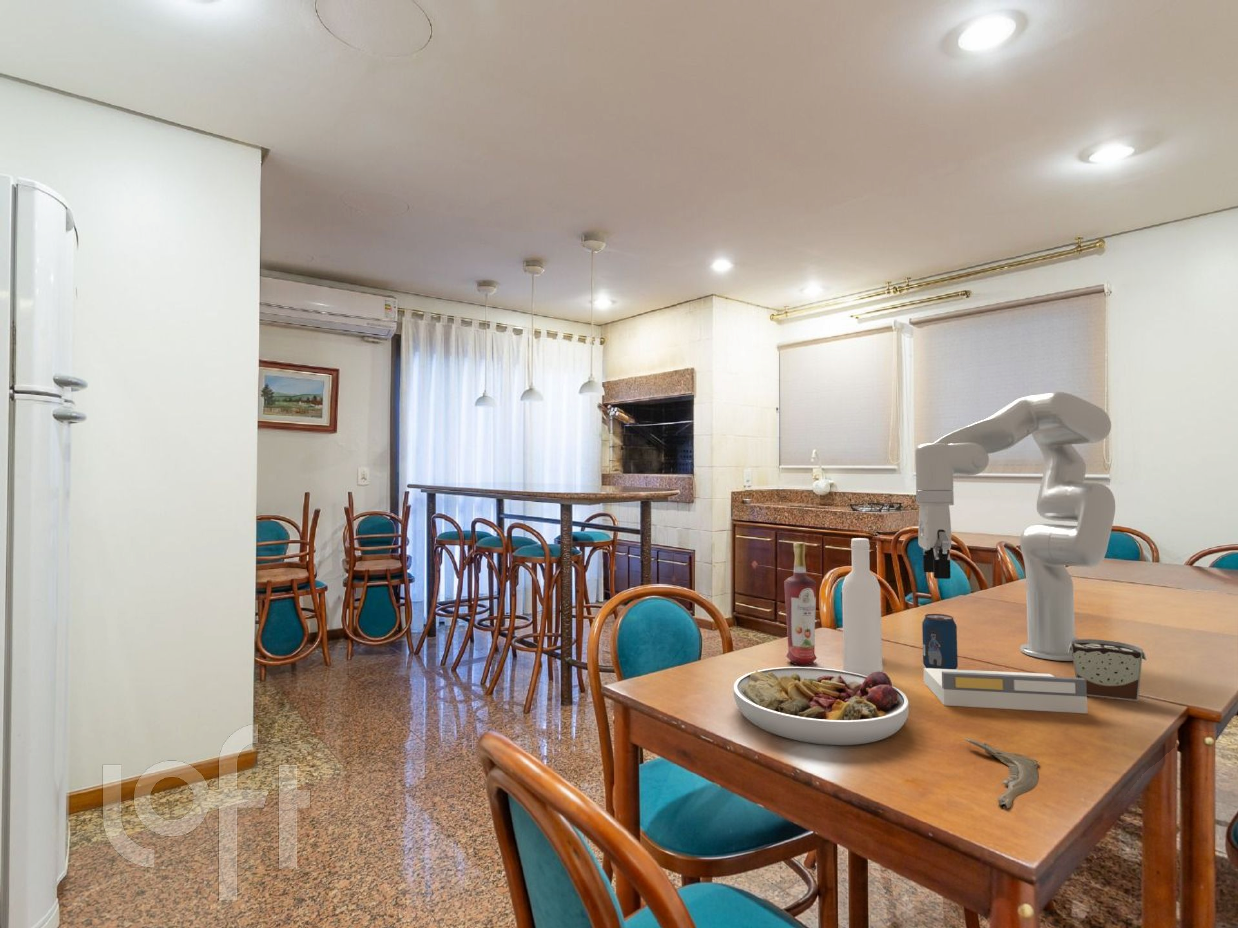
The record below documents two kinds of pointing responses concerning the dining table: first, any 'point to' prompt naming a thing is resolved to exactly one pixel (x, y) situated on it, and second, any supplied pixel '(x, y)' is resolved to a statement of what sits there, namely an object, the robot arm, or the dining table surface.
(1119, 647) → the food container
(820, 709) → the bowl
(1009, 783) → the jawbone
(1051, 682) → the display shelf
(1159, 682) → the dining table surface
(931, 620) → the soda can
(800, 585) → the liquor
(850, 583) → the bottle
